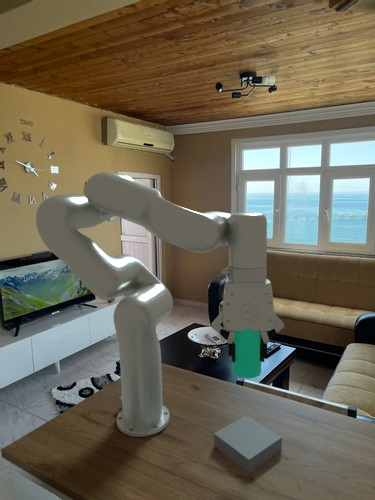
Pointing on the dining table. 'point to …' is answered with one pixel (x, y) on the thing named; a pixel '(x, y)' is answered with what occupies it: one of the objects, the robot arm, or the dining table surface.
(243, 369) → the candle
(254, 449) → the plinth
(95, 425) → the dining table surface
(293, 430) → the dining table surface
